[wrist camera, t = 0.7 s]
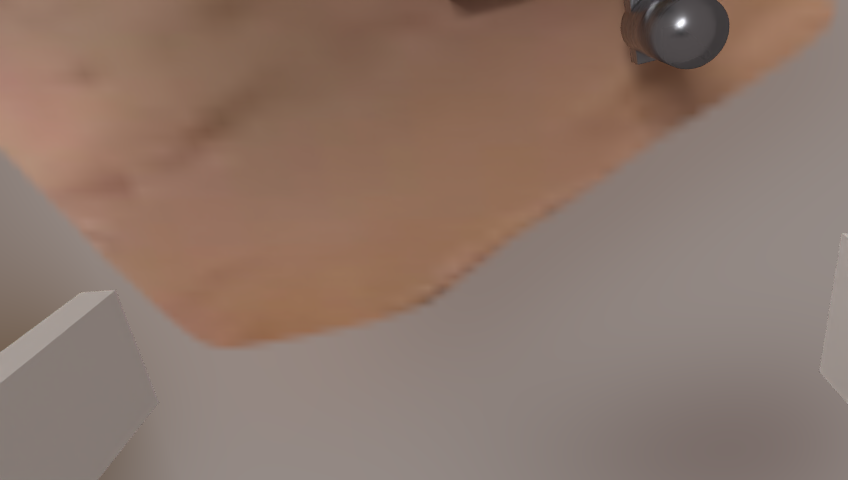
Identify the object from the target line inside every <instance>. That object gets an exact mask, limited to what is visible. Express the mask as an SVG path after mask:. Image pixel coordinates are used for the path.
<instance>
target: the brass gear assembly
mask: <svg viewBox="0 0 848 480" xmlns="http://www.w3.org/2000/svg"><path fill="white" fill-rule="evenodd" d="M624 6H625V13H624V15H623V17H622V21H621V34H622V37H623V40H624V42H625V43H626V44H627V45H628V46H629V47H630V54H631V62H633V63H635V64H637V65H638V64H642V63H646V62H650V61H654V60H659V61H661V62H664V63H666V64H668V65H671V66H673V67H676V68H680V69H693V68H697V67H700V66H702V65H705V64H706V63H708V62H710V61H711V60H712V59H713V58H715V57H716V56H717V55H718V53H719V52H720V51H721V50H722V48H723V46H724V45H725V43H726V40H727V37H728V34H729V18H728V15H727V12H726V10H725V9H724V7H723V6H722V5H721V4H720V3H719V2H718V1H717V0H624Z"/></svg>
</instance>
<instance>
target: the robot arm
mask: <svg viewBox="0 0 848 480" xmlns="http://www.w3.org/2000/svg"><path fill="white" fill-rule="evenodd" d="M819 372H820V373H821V374H822V376H823V377H824V378H825V379H826V380H827V381H828V382H829V383H830V385H831V386H832V387H833V388H834V389H835V390H836V392H838V394H839V395H840V396H841V397H842V398H843V399H844V400H845V402H846V403H847V404H848V233H843V234H841V240H840V246H839V253H838V259H837V265H836V271H835V277H834V283H833V289H832V296H831V302H830V308H829V314H828V320H827V326H826V332H825V339H824V344H823V351H822V357H821V364H820V369H819ZM158 403H159V401H158V399H157V396H156V393H155V391H154V388H153V386H152V383H151V380H150V378H149V375H148V373H147V370H146V367H145V365H144V362H143V360H142V357H141V354H140V352H139V349H138V347H137V344H136V341H135V339H134V336H133V333H132V331H131V328H130V326H129V323H128V320H127V318H126V315H125V313H124V310H123V308H122V305H121V302H120V300H119V297H118V294H117V292H116V290H107V291H94V292H82V293H79V294H78V295H77V296H75V297H74V298H73V299H71V300H70V301H69V302H67V303H66V304H65V305H63V306H62V307H61V308H60V309H58V310H57V311H55V312H54V313H53V314H51V315H50V316H49V317H47V318H46V319H44V320H43V321H42V322H40V323H39V324H38V325H36V326H35V327H34V328H32V329H31V330H30V331H28V332H27V333H26V334H24V335H23V336H22V337H20V338H19V339H18V340H17V341H15V342H14V343H12V344H11V345H10V346H8V347H7V348H6V349H4V350H3V351H1V352H0V480H98V479H99V478H100V476H101V475H102V474H103V473H104V471H105V470H106V469H107V468H108V466H109V465H110V464H111V463H112V461H113V460H114V459H115V458H116V456H117V455H118V454H119V452H120V451H121V450H122V449H123V447H124V446H125V445H126V444H127V442H128V441H129V440H130V439H131V437H132V436H133V435H134V434H135V432H136V431H137V430H138V428H139V427H140V426H141V425H142V423H143V422H144V421H145V420H146V418H147V417H148V416H149V414H150V413H151V412H152V411H153V410H154V408H155V407H156V406H157V404H158Z"/></svg>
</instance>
